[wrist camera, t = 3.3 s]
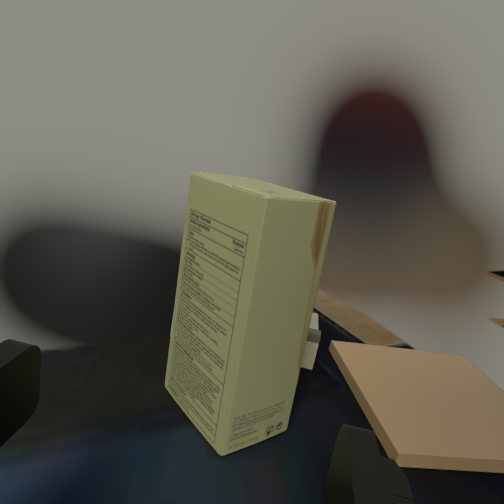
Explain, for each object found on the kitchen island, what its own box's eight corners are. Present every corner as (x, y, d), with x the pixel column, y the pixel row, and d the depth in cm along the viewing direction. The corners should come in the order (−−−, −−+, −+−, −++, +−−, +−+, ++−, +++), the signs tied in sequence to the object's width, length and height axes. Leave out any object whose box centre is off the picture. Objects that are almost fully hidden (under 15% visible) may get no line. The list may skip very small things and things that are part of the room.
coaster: (459, 364, 32) (462, 355, 32) (581, 477, 22) (587, 465, 22) (328, 349, 31) (331, 340, 30) (393, 466, 20) (398, 453, 20)
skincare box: (289, 433, 21) (347, 202, 18) (218, 462, 18) (271, 197, 15) (222, 366, 26) (258, 175, 22) (159, 382, 23) (188, 167, 20)
